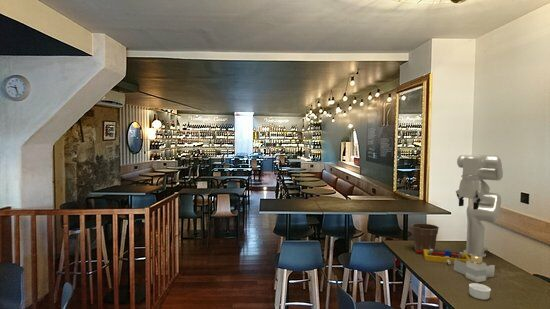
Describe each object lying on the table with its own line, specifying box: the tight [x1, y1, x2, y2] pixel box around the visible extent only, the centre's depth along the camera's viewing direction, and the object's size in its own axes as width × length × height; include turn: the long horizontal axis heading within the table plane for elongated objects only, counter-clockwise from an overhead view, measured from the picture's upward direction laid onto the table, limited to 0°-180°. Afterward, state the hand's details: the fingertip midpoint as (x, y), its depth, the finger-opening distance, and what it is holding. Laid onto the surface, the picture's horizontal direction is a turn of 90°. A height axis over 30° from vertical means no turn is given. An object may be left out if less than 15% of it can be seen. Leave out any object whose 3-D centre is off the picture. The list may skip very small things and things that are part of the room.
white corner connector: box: [453, 260, 496, 283], centre depth 192 cm, size 16×16×9 cm
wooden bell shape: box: [470, 255, 483, 264], centre depth 185 cm, size 5×5×11 cm
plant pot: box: [411, 222, 440, 252], centre depth 231 cm, size 16×16×16 cm
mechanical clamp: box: [415, 249, 471, 265], centre depth 214 cm, size 18×6×30 cm
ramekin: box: [468, 282, 492, 301], centre depth 166 cm, size 9×9×4 cm
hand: (468, 207), depth 206 cm, fingers open, 9 cm apart
